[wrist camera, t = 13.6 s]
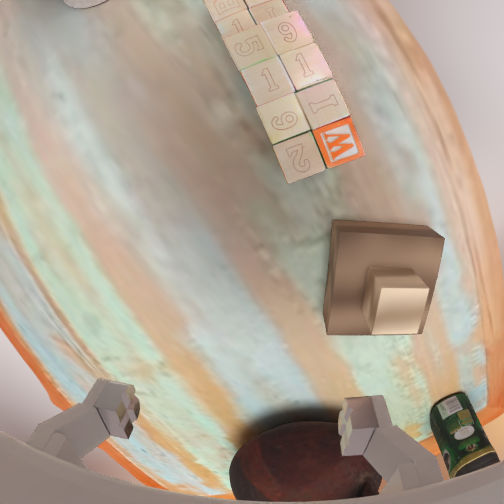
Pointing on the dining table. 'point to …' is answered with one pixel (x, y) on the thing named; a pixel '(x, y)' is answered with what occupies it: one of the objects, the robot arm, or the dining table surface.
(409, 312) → the beige wooden cube
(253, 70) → the stack of blocks
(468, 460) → the coffee jar
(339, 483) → the jug
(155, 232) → the dining table surface
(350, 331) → the walnut block
